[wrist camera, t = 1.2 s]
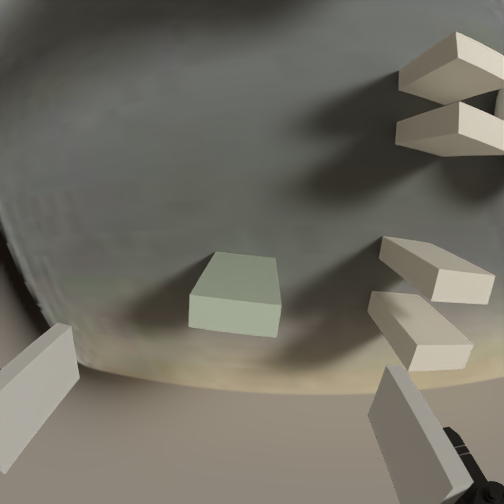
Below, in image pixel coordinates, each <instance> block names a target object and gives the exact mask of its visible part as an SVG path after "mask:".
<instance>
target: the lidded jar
mask: <svg viewBox="0 0 504 504" xmlns="http://www.w3.org/2000/svg"><path fill="white" fill-rule="evenodd" d="M494 116H495V117H497V118H499V119H501V120H503V121H504V88H501V89H500V90H499V92H498V95H497V98H496V105H495V110H494Z"/></svg>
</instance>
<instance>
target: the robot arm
mask: <svg viewBox="0 0 504 504" xmlns="http://www.w3.org/2000/svg"><path fill="white" fill-rule="evenodd" d="M78 379H80V376H79V371H78V366H77V360H76V354H75V348H74V342H73V335H72V328H71V326H69V325H65V324H61V323H56V324H55V325H54V326H53V327H51V328H50V329H49V330H48V331H47V332H45V333H44V334H43V335H42V336H40V337H39V338H38V339H37V340H35V341H34V342H33V343H32V344H31V345H29V346H28V347H27V348H26V349H25V350H24V351H22V352H21V353H20V354H19V355H18V356H17V357H15V358H14V359H13V360H12V361H10V362H9V363H8V364H7V365H6V366H5V367H3V368H2V369H0V471H1V472H3V473H4V474H6V472H7V471H8V469H9V468H10V467H11V465H12V464H13V463H14V461H15V460H16V459H17V457H18V456H19V455H20V453H21V452H22V451H23V449H24V448H25V447H26V445H27V444H28V443H29V441H30V440H31V439H32V437H33V436H34V435H35V434H36V432H37V431H38V430H39V428H40V427H41V426H42V425H43V423H44V422H45V421H46V419H47V418H48V417H49V415H50V414H51V413H52V412H53V411H54V409H55V408H56V407H57V406H58V404H59V403H60V402H61V400H62V399H63V398H64V397H65V396H66V394H67V393H68V392H69V391H70V389H71V388H72V387H73V386H74V384H75V383H76V382H77V381H78ZM368 417H369V420H370V423H371V425H372V428H373V430H374V433H375V436H376V438H377V441H378V444H379V446H380V449H381V452H382V454H383V457H384V460H385V462H386V465H387V468H388V471H389V473H390V476H391V479H392V482H393V485H394V488H395V490H396V493H397V496H398V499H399V502H400V504H504V486H503V485H502V484H500V483H498V482H494V481H489V482H488V481H487V480H486V478H485V476H484V475H483V473H482V471H481V470H480V468H479V466H478V465H477V463H476V461H475V460H474V458H473V456H472V455H471V454H469V450H468V448H467V447H466V446H465V444H464V442H463V440H462V439H461V437H460V436H459V435H458V434H457V433H456V432H455V431H454V430H452V429H451V428H450V427H445V428H442V427H441V425H440V424H439V422H438V421H437V419H436V417H435V416H434V414H433V412H432V411H431V409H430V408H429V406H428V404H427V403H426V401H425V400H424V398H423V396H422V395H421V393H420V392H419V390H418V389H417V387H416V386H415V384H414V382H413V381H412V379H411V378H410V376H409V375H408V373H407V372H406V370H405V369H404V367H403V366H402V365H386V367H385V370H384V373H383V376H382V379H381V382H380V384H379V387H378V390H377V392H376V395H375V398H374V401H373V403H372V406H371V408H370V410H369V413H368Z"/></svg>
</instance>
